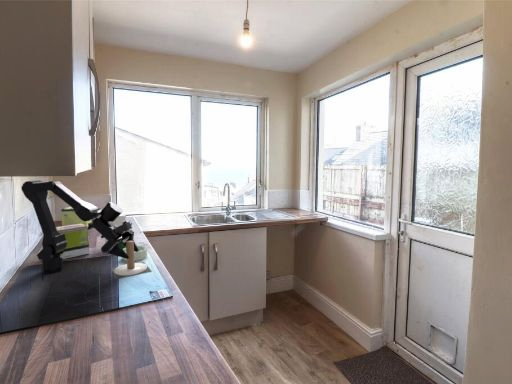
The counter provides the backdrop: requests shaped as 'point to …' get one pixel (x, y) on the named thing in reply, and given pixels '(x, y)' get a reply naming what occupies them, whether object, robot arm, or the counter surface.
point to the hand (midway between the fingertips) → (133, 254)
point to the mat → (130, 275)
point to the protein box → (71, 217)
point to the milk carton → (119, 224)
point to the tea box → (75, 240)
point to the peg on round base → (130, 263)
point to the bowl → (139, 253)
